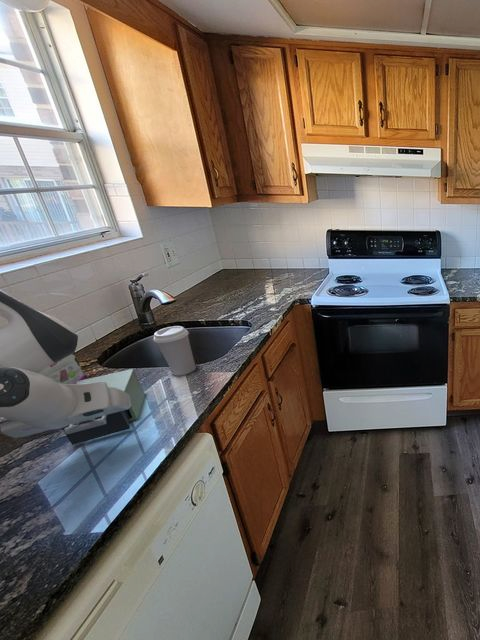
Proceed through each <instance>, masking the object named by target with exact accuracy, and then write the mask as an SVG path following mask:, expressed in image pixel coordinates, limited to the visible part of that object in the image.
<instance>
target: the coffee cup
mask: <svg viewBox="0 0 480 640" xmlns="http://www.w3.org/2000/svg"><path fill="white" fill-rule="evenodd" d="M189 335H190V332H189V331H188V330H187V329H186V328H185V327H184V326H181V325H173V326H167V327H164V328H161V329H159V330H157V331H155V332H154V333H153V339H152V341H153V343H156V345H157V347H158V348H159V350H160V352H161V354H162V357H163V358H164V359H165V362H166V363H167V365H168V367H169V368H170V371H171V372H172V374H173V375H174V376H185V375H188V374H191V373H193V372H194V371H196V368H197V367H196V366H197V365H196V363H195V359H194V354H193V350H192V348H191V347H192V346H191V344H190V339H189Z"/></svg>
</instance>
